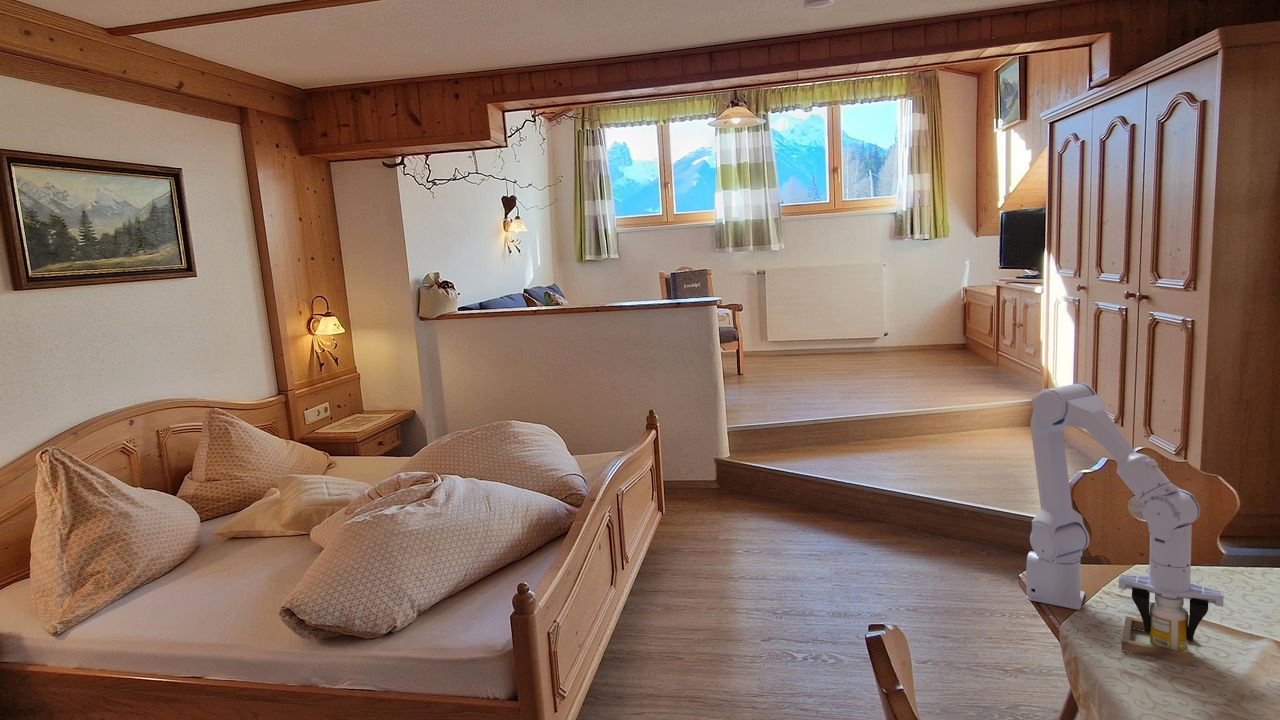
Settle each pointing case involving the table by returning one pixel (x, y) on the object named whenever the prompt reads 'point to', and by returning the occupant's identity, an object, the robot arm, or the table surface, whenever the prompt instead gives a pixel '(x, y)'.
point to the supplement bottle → (1169, 623)
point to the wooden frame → (1152, 646)
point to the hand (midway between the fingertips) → (1168, 634)
